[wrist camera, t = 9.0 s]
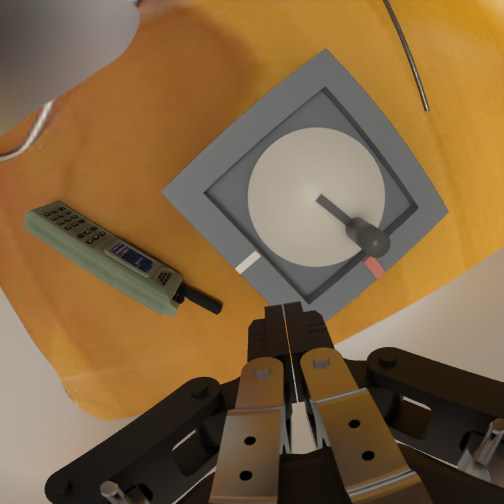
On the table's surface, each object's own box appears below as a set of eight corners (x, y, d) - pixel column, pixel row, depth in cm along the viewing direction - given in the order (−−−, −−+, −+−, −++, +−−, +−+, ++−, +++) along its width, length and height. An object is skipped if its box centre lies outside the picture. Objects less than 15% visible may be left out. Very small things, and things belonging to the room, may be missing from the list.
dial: (220, 210, 32) (211, 225, 25) (303, 102, 29) (318, 85, 22) (324, 285, 35) (342, 318, 27) (401, 187, 31) (438, 196, 24)
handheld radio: (59, 195, 34) (228, 294, 38) (52, 218, 35) (215, 314, 39) (27, 206, 28) (222, 323, 31) (21, 231, 29) (208, 345, 32)
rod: (376, -20, 26) (377, -22, 25) (428, 110, 31) (430, 110, 31) (371, -19, 26) (373, -22, 26) (423, 111, 31) (426, 110, 31)
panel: (318, 59, 30) (326, 47, 25) (431, 206, 34) (450, 212, 30) (170, 188, 34) (159, 192, 30) (299, 321, 38) (304, 340, 34)
